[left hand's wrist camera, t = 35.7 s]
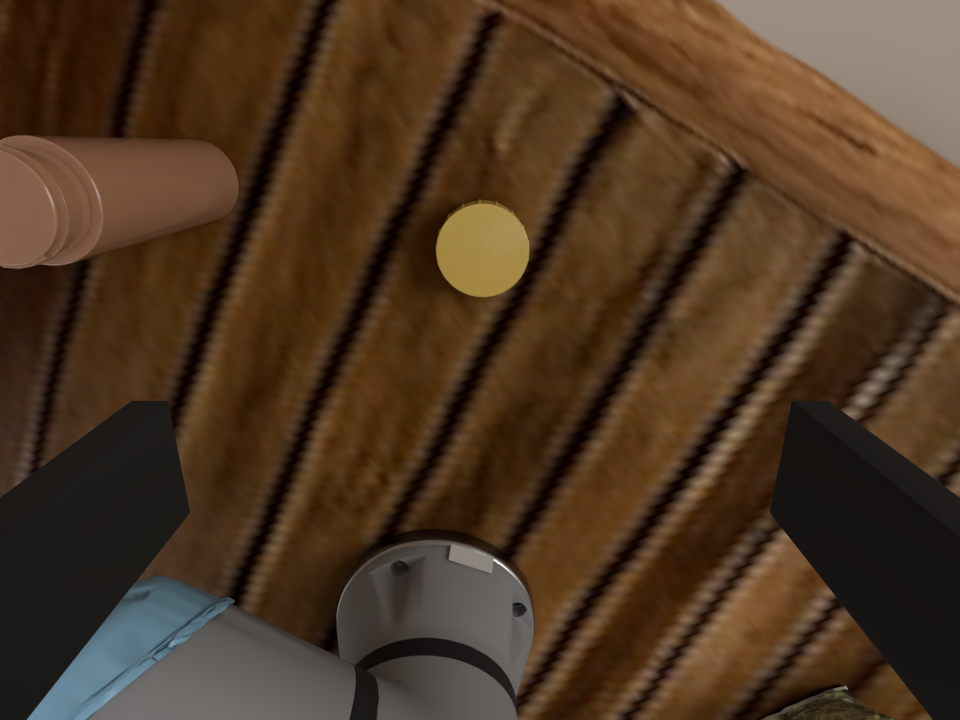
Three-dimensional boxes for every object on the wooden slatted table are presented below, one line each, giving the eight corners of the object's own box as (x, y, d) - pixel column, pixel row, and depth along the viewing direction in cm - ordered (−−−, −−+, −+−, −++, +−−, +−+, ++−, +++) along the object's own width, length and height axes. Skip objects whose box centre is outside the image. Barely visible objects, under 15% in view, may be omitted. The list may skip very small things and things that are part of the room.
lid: (437, 288, 38) (434, 297, 36) (437, 197, 36) (434, 200, 34) (524, 290, 38) (527, 299, 36) (529, 200, 36) (532, 203, 34)
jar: (140, 161, 36) (-108, 173, 20) (209, 124, 35) (3, 108, 20) (188, 236, 37) (-11, 298, 22) (254, 201, 36) (95, 241, 21)
